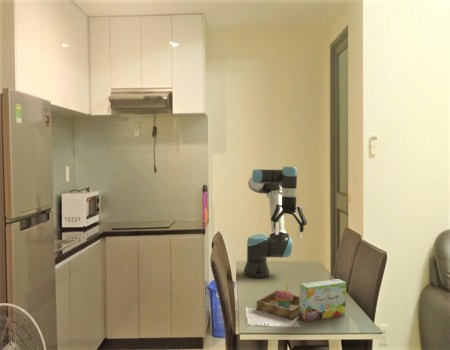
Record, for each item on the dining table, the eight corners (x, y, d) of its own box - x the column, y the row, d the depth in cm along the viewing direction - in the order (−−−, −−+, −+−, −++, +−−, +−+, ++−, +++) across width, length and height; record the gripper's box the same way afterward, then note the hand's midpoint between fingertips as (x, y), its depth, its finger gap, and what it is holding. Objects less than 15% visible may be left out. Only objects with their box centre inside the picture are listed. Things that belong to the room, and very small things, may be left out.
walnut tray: (256, 309, 171) (256, 301, 171) (276, 298, 185) (276, 290, 185) (292, 320, 160) (292, 310, 160) (310, 307, 174) (310, 299, 174)
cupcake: (296, 306, 173) (297, 280, 173) (287, 311, 167) (287, 284, 166) (280, 301, 179) (281, 276, 178) (270, 306, 172) (271, 280, 172)
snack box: (306, 322, 158) (306, 287, 157) (298, 317, 163) (299, 283, 162) (346, 315, 166) (346, 281, 166) (337, 310, 171) (338, 277, 171)
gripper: (264, 194, 202) (264, 234, 203) (307, 198, 187) (306, 241, 188) (272, 193, 208) (271, 231, 209) (314, 197, 192) (313, 238, 194)
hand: (288, 236), depth 198 cm, fingers open, 13 cm apart
